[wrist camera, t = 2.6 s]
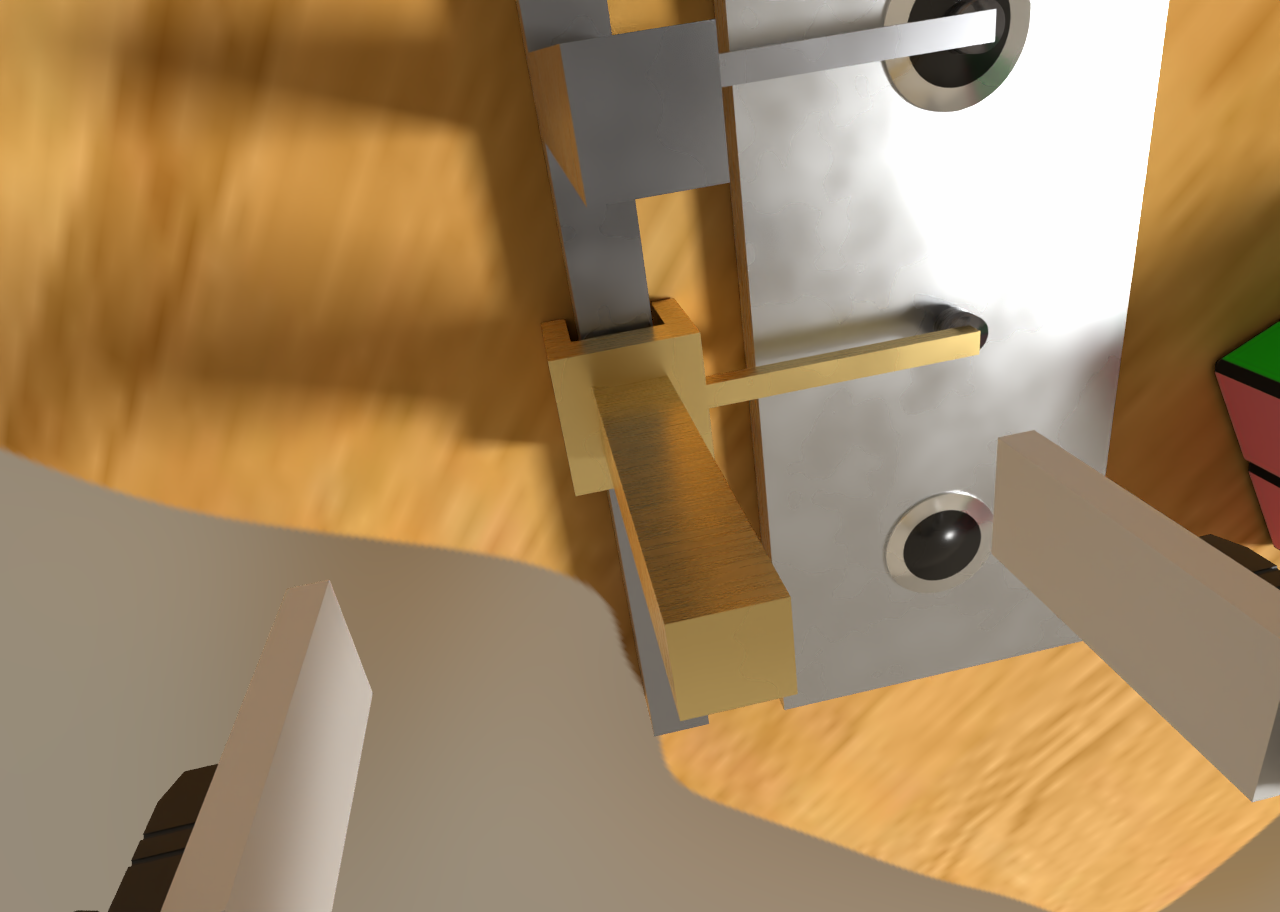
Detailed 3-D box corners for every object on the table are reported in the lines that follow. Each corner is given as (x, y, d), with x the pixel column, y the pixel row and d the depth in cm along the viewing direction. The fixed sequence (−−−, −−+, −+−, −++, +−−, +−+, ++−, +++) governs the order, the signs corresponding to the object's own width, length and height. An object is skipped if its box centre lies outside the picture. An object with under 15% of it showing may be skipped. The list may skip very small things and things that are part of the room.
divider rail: (490, -137, 19) (486, -391, 8) (960, -203, 20) (1499, -508, 9) (645, 697, 31) (725, 1035, 20) (936, 631, 32) (1161, 920, 21)
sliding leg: (540, 323, 24) (589, 585, 12) (948, 246, 25) (1371, 417, 13) (565, 444, 26) (629, 778, 14) (944, 368, 27) (1312, 617, 15)
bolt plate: (693, -218, 19) (708, -238, 18) (1171, -283, 20) (1216, -306, 19) (774, 688, 32) (786, 713, 30) (1063, 621, 33) (1086, 643, 31)
